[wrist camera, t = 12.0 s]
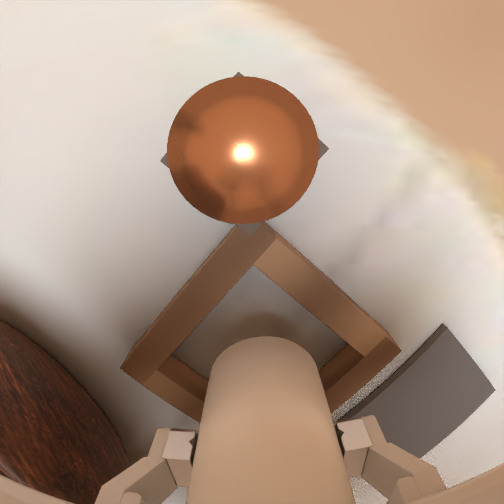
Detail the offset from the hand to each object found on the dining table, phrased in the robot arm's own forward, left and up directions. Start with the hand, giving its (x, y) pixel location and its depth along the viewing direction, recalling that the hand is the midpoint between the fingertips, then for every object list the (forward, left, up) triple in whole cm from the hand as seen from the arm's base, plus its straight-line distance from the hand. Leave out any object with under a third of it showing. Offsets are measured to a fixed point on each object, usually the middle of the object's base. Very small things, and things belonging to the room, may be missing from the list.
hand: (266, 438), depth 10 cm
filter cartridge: (0, 0, -4) cm, 4 cm away
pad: (-13, -3, -7) cm, 15 cm away
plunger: (+7, -7, -6) cm, 12 cm away
